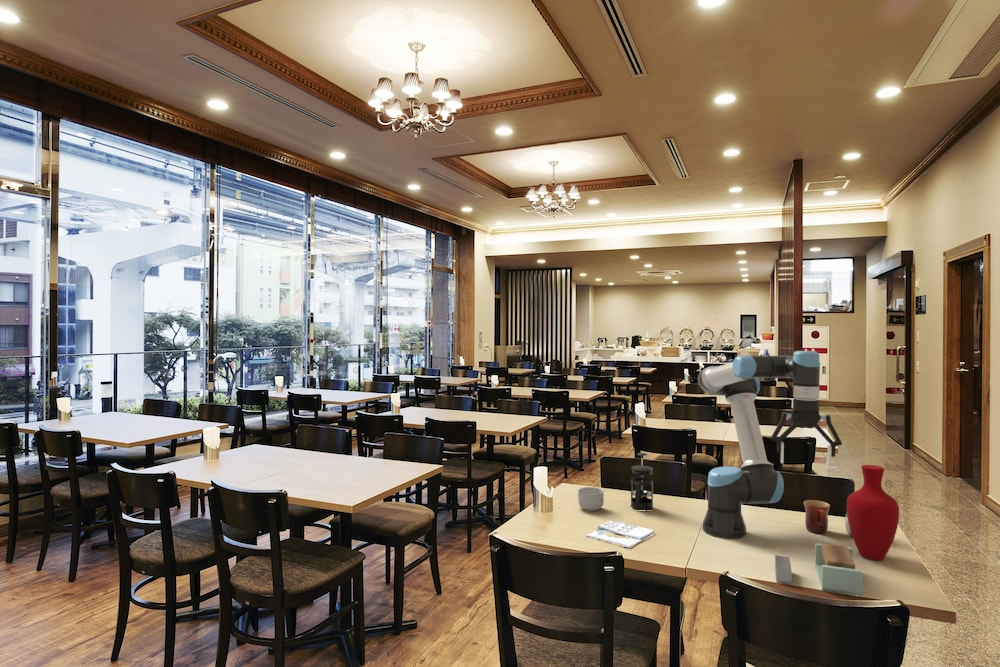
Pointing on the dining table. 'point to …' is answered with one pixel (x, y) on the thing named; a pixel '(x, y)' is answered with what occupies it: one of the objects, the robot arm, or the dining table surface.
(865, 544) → the vase
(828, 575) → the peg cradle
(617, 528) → the folded cloth napkin
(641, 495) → the french press
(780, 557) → the block
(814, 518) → the mug
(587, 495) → the teacup
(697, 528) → the dining table surface
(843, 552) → the board
